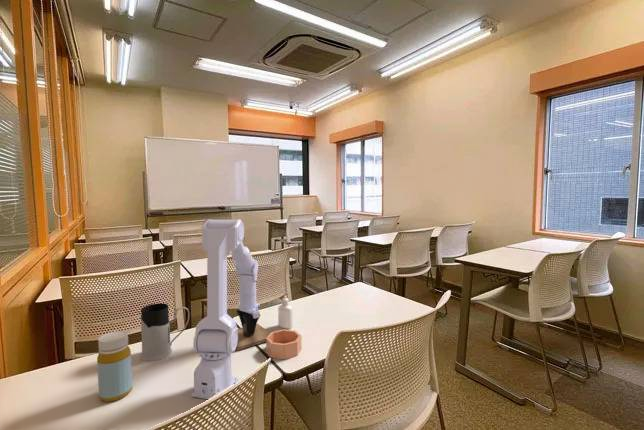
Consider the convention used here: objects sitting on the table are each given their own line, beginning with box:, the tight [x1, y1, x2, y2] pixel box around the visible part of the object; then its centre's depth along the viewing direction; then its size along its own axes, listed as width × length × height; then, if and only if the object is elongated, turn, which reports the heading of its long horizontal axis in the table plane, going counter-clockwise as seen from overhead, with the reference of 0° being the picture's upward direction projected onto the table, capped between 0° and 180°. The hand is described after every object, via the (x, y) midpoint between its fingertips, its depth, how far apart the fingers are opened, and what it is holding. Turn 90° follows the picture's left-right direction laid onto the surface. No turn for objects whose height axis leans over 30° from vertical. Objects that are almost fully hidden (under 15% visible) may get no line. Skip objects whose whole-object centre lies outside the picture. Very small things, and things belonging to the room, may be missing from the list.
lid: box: [235, 323, 271, 351], centre depth 110 cm, size 13×13×5 cm
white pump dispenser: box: [277, 295, 294, 330], centre depth 119 cm, size 4×6×12 cm
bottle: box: [96, 330, 133, 403], centre depth 79 cm, size 7×7×15 cm
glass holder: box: [140, 302, 190, 362], centre depth 100 cm, size 9×14×15 cm, turn 118°
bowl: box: [265, 328, 302, 360], centre depth 101 cm, size 10×10×4 cm
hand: (248, 331), depth 110 cm, fingers closed on lid, 4 cm apart
